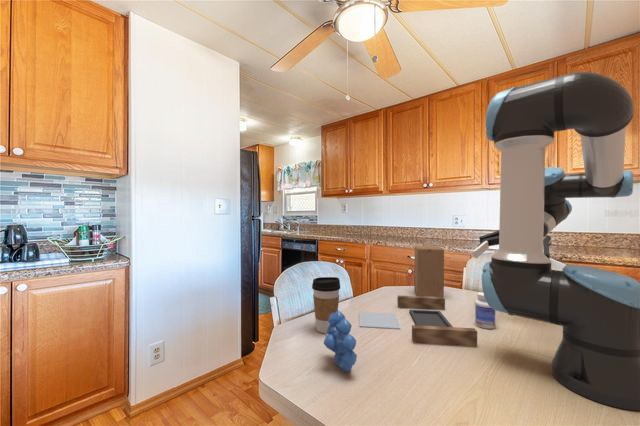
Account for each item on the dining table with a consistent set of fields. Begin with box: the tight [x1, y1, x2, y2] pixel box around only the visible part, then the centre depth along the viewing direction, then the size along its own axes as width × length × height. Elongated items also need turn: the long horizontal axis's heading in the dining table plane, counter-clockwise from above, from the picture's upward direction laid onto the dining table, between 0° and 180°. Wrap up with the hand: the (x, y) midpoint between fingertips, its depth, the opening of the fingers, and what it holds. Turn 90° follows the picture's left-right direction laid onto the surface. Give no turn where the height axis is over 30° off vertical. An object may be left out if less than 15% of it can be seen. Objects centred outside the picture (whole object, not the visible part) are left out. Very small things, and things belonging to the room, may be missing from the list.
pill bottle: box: [474, 291, 496, 330], centre depth 88 cm, size 5×5×10 cm
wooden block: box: [413, 245, 445, 298], centre depth 118 cm, size 10×10×20 cm
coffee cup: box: [311, 276, 341, 334], centre depth 85 cm, size 8×8×15 cm
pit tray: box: [408, 309, 454, 327], centre depth 90 cm, size 10×16×1 cm, turn 173°
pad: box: [358, 311, 401, 330], centre depth 92 cm, size 12×12×1 cm
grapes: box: [323, 310, 358, 373], centre depth 65 cm, size 12×7×12 cm, turn 22°
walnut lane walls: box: [397, 295, 478, 348], centre depth 90 cm, size 16×29×4 cm, turn 173°
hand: (495, 261), depth 86 cm, fingers open, 13 cm apart
